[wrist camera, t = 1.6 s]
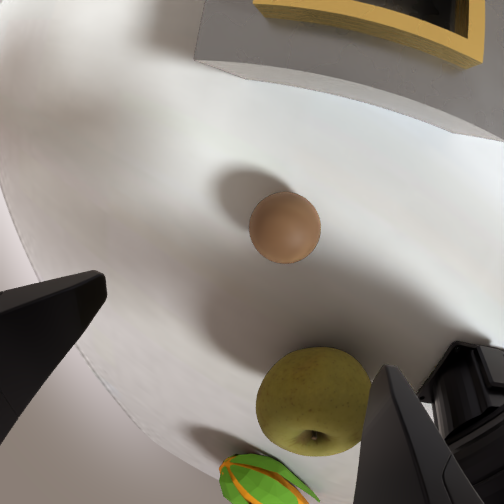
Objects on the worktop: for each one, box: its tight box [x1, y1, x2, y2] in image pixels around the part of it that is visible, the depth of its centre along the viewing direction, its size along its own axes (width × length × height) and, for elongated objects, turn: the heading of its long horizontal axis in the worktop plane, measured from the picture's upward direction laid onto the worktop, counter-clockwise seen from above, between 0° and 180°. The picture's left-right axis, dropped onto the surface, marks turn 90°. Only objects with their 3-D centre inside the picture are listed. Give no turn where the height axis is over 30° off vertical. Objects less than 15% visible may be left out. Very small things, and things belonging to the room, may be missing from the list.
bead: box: [249, 192, 321, 264], centre depth 16 cm, size 4×4×4 cm
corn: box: [219, 454, 320, 504], centre depth 28 cm, size 7×8×20 cm
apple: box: [256, 347, 371, 456], centre depth 19 cm, size 8×8×7 cm
